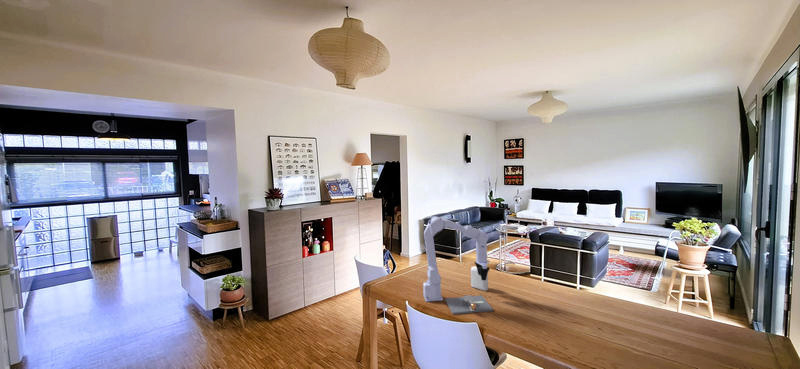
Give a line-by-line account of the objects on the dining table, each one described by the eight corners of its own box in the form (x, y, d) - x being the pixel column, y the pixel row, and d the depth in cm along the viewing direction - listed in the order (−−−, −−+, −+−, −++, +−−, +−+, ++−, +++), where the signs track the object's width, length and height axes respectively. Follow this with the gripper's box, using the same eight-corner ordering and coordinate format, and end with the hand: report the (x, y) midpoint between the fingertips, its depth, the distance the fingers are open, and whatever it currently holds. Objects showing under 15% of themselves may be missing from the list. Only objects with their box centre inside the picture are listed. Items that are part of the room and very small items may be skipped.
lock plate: (452, 314, 152) (452, 310, 152) (445, 300, 168) (445, 296, 168) (493, 310, 154) (493, 306, 154) (481, 297, 170) (481, 293, 170)
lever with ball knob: (461, 299, 163) (461, 294, 163) (471, 298, 163) (471, 294, 163) (469, 310, 150) (469, 305, 150) (479, 309, 151) (479, 304, 151)
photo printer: (470, 286, 184) (469, 266, 184) (474, 284, 187) (473, 264, 186) (484, 291, 176) (484, 270, 176) (489, 289, 179) (488, 268, 178)
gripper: (492, 256, 164) (493, 282, 164) (485, 249, 178) (486, 272, 179) (478, 257, 164) (479, 282, 165) (473, 249, 178) (473, 273, 179)
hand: (482, 277), depth 172 cm, fingers open, 7 cm apart
